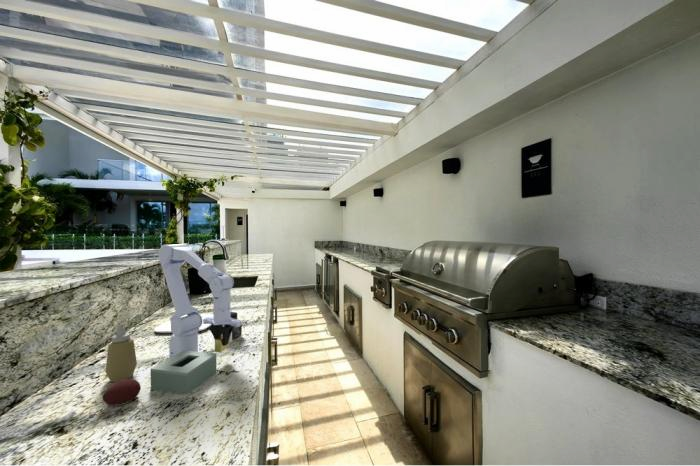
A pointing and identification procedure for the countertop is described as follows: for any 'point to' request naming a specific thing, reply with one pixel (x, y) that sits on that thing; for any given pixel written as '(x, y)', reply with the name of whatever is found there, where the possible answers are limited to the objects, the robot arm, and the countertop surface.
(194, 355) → the box
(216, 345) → the gold rectangular block
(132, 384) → the potato
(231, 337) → the medicine bottle
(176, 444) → the countertop surface
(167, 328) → the plate
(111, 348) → the squeeze bottle
